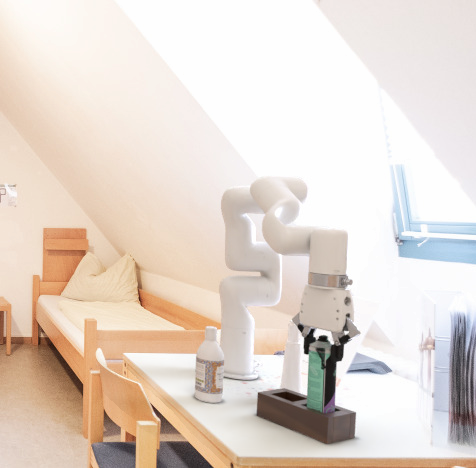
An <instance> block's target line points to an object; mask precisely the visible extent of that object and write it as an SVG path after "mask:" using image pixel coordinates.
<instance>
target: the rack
mask: <svg viewBox="0 0 476 468" xmlns="http://www.w3.org/2000/svg"><path fill="white" fill-rule="evenodd" d="M256 416H257V417H259V418H261V419H264V420H267V421H269V422H272V423H274V424H277V425H280V426H282V427H284V428H287V429H289V430H291V431H293V432H296V433H299V434H301V435H303V436H306V437H308V438H311V439H314V440H315V441H318V442H321V443H323V444H325V445H328V444H329V445H330V444H333V443H337V442H342V441H346V440H350V439H354V438H355V437H356V422H357V421H356V420H357V412H356V411H354V410H351V409H347V408H345V407H342V406H338V405H337V404H335V412H331V413H326V414H325V413H322V412H319V411H317V410H314V409H311V408H308V407H307V394H306V395H305V394H303V393H302V394H300V393H297V392H294V391H291V390H288V389H285V388H282V389H280V388H276V389H275V388H274V389H269V390H263V391H258V392H257V401H256Z"/></svg>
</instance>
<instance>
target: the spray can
mask: <svg viewBox="0 0 476 468" xmlns="http://www.w3.org/2000/svg"><path fill="white" fill-rule="evenodd" d="M332 344H333V343H331V341H330V340H329V338H328V335H325V334H323V335H322V334H321V335H319V336H318V338H317V339H316V342H314V343H311V344H310V347H309V354H308V361H307V362H308V366H307V386H306V387H307V391H306V392H307V393H306V396H307V407H308V408H311V409H314V410H317V411H319V412H322V413H325V414H326V413H331V412H335V405H336V389H337V388H336V387H337V364H338V362H331V360H330V357H331V345H332Z"/></svg>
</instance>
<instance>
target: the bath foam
mask: <svg viewBox="0 0 476 468" xmlns="http://www.w3.org/2000/svg"><path fill="white" fill-rule="evenodd" d="M204 329H205V330H204V340H203V341H202V342H201V344H200V345H199V346H198V348H197V351H196V354H195V372H194V376H195V377H194V398H196V399H198V401H201V402H205V403H210V404H218V403H221V402H222V401H223V395H224V393H223V392H224V376H223V373H224V354H223V351H222V349H221V347H220V343H219V342H218V340H217V339H218V328H217V327H216V326H212V325H206V326H205V328H204Z"/></svg>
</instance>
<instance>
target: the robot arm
mask: <svg viewBox="0 0 476 468" xmlns="http://www.w3.org/2000/svg"><path fill="white" fill-rule="evenodd" d="M309 196H310V187H309V185H308V183H307V181H306V180H305V179H303V178H302V177H300V176H296V175H264V176H260V177H258V178H256V179H254V180H253V181H252V183H251V184H250V185H237V186H236V185H235V186H231V187H228V188H227V189H225V190H224V192H223V193H222V196H221V200H220V209H221V215H222V219H223V222H224V226H225V227H224V228H225V234H224V235H225V237H224V239H225V240H224V261H225V265H226V267H227V268H228V269H229V270H231V271H235V272H253V273H255V272H256V273H259V274H260V276H259V275H239V274H238V275H229V276H225V277H223V278H222V280H221V281H220V282H219V285H218V292H219V300H220V309H221V310H220V314H221V315H220V339H219V340H220V341H219V345H220V347H221V349H222V351H223V354H224V373H223V378H224V377H225V378H228V379H233V380H242V381H243V380H244V381H252V380H256V379H258V378H259V373H258V371H256V370H255V369H256V368H261V367H263V361H261V360H254V354H255V353H254V350H255V333H256V332H255V330H256V329H255V328H256V322H255V318H254V316H253V314H252V313H251V312H250V310H249V309H248V307H274V306H278V304H279V303H280V301H281V297H282V289H283V288H282V287H283V285H282V284H283V257H282V256H286V257H288V256H289V257H309V258H308V272H307V273H308V274H307V284H305V285H304V288H303V291H302V295H301V299H300V304H299V305H300V306H299V307H300V308H299V312H298V313H297V314H296V315H294V316H293V317H292V318H291V320H292V321H293V322H294V323H295V325H296V326H297V327H298V329H299V330H300V334H301V337H302V338H303V348H302V349H303V354H304V355H306V356H307V355H308V356H309V347H310V344H311V343H314V342H316V340H317V337H316V336H315V334H316V332H317V329H318V330H321V331H327V332H330V333H331V334H330V335H331V337H332V340H333V343H331V344H332V345H331V357H330V360H331V362H337V363H338V362H342V361H343V359H344V353H345V351H344V350H345V346H346V345H347V344H348V343H349V342H351V341H352V340H354V339H355V338H357V337H358V336H361V330H360V329H359V328H358V327H357V325H356V324H355V311H354V308H355V307H354V298H353V294H352V290H351V289H350V288H348V286H352V285H353V282H354V281H353V279H351V278H349V275H348V273H349V259H350V258H349V257H350V242H351V234H350V232H349V231H348V230H347V229H345V228H335V227H329V226H324V225H301V224H300V225H296V224H295V225H294V224H293V225H292V224H291V223H294V222H295V221H296V220H297V219H299V217H300V216H301V213H302V212H303V205H304V204H305V203H306V202H307V200H308V198H309ZM248 214H256V215H258V214H259V215H260V214H261V215H264V216H263V219H262V222H261V232H262V236H263V239H264V240H265V241H256V240H257V239H256V232H257V231H256V225H255V223H254V221H253V220H252V218H250V216H249V215H248ZM345 332H347V333H345Z"/></svg>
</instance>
